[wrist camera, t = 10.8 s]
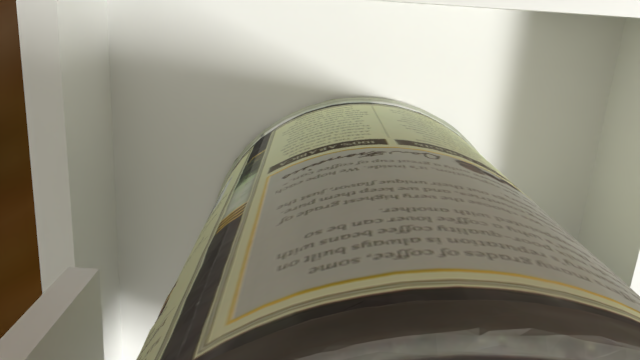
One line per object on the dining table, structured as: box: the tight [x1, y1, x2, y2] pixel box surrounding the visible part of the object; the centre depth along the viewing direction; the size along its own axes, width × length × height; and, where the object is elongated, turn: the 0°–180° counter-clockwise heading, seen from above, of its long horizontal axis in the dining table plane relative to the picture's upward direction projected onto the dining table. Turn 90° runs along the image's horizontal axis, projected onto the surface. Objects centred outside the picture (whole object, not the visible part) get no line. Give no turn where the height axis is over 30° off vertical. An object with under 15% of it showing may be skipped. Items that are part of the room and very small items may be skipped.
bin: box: [16, 0, 640, 360], centre depth 19 cm, size 18×18×4 cm
